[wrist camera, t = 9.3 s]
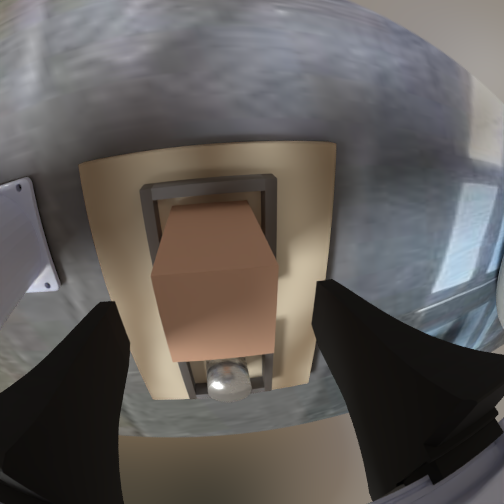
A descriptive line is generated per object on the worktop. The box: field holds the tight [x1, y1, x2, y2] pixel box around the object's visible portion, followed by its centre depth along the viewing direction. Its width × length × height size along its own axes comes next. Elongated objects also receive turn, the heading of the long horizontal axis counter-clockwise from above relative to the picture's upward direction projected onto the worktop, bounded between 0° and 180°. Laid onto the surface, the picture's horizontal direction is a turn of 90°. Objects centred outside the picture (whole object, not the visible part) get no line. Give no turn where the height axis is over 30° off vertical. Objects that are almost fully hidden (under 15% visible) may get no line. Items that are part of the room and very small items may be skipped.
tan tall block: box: [151, 200, 279, 362], centre depth 13 cm, size 4×4×7 cm
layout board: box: [78, 141, 336, 400], centre depth 18 cm, size 14×20×2 cm
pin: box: [206, 357, 252, 402], centre depth 19 cm, size 3×3×3 cm
